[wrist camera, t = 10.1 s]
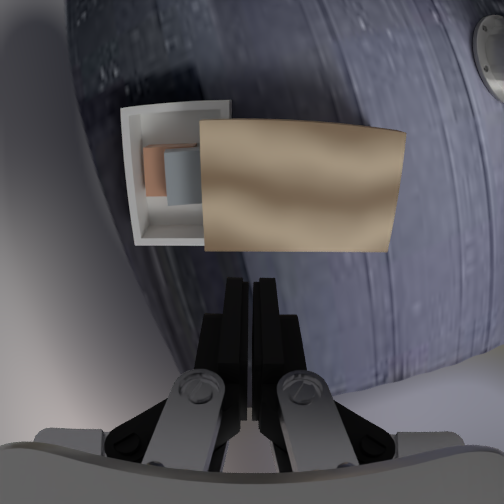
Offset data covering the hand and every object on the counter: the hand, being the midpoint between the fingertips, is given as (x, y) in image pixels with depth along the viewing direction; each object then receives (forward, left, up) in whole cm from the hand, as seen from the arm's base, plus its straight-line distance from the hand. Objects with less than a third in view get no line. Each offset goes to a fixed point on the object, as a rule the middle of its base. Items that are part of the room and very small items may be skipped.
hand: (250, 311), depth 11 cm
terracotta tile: (0, -8, -21) cm, 22 cm away
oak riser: (0, +4, -23) cm, 23 cm away
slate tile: (0, -5, -19) cm, 19 cm away
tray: (0, -7, -23) cm, 24 cm away
